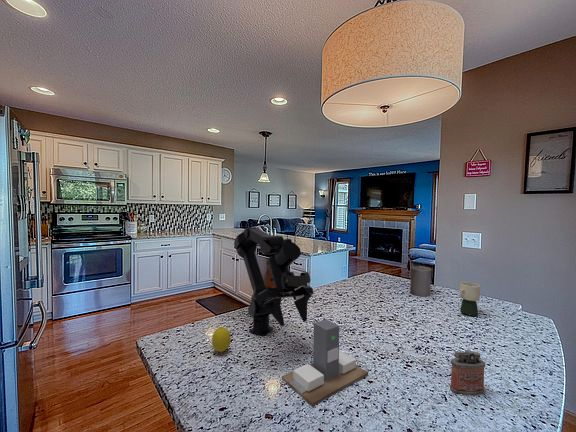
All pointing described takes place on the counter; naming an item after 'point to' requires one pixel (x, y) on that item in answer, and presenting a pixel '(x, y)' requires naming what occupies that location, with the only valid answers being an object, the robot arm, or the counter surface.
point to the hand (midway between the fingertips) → (294, 323)
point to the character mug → (469, 297)
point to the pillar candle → (420, 281)
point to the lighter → (467, 373)
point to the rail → (302, 389)
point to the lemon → (221, 339)
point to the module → (326, 348)
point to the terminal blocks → (314, 378)
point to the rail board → (328, 385)
